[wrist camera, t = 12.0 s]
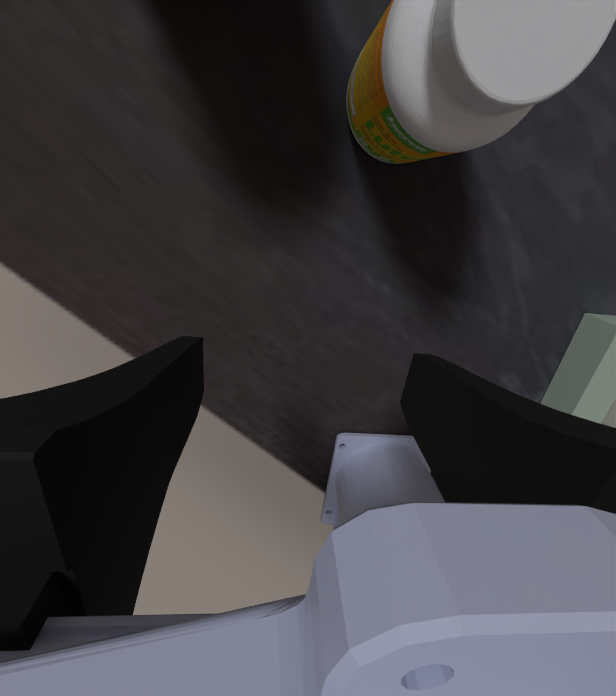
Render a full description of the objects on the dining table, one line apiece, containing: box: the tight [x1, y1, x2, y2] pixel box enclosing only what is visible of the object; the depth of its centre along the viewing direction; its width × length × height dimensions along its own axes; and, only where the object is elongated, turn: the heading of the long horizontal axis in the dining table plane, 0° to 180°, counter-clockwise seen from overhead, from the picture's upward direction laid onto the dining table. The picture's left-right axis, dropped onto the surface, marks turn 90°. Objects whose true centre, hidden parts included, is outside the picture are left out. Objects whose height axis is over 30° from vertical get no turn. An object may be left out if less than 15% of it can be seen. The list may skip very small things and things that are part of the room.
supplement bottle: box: [346, 0, 616, 164], centre depth 12 cm, size 5×5×10 cm
